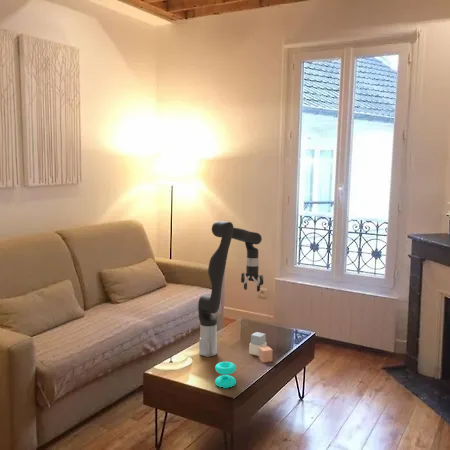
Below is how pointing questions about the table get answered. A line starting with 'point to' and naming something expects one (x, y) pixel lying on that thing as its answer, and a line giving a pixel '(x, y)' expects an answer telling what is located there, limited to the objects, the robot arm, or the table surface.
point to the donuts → (225, 369)
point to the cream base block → (255, 348)
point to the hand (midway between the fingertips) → (251, 290)
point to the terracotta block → (265, 354)
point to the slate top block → (258, 338)
